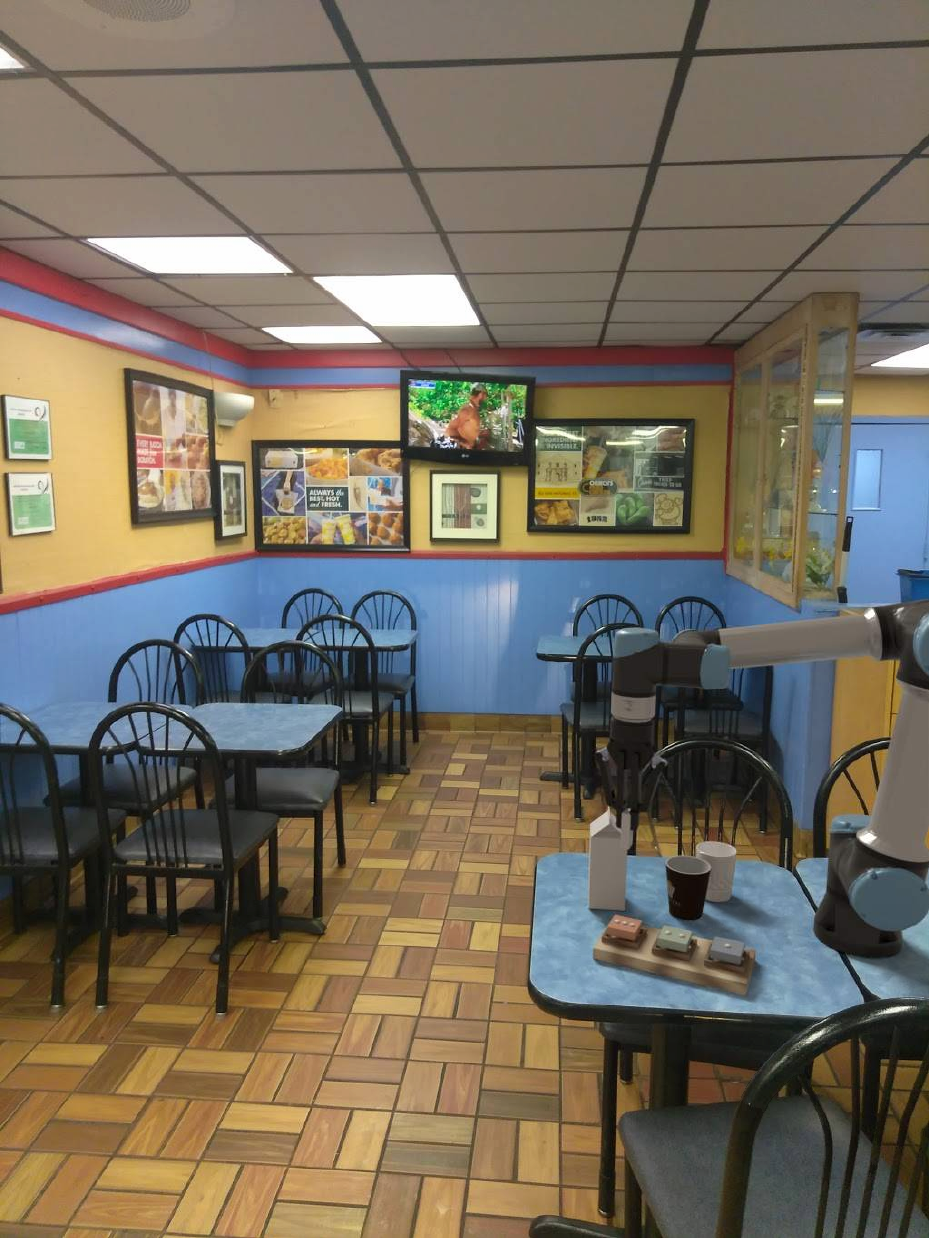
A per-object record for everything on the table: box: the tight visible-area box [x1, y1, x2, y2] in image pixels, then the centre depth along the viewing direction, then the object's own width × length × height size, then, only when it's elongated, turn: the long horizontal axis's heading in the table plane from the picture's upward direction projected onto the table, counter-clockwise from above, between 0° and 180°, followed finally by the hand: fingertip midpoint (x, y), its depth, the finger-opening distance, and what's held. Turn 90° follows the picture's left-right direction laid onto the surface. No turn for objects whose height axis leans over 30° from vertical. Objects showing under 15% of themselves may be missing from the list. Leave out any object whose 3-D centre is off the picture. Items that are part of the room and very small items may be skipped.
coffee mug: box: [664, 855, 711, 922], centre depth 174 cm, size 12×9×10 cm
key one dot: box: [710, 936, 746, 965], centre depth 151 cm, size 5×5×2 cm
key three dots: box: [607, 914, 643, 941], centre depth 159 cm, size 5×5×2 cm
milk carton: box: [587, 806, 628, 912], centre depth 176 cm, size 7×7×19 cm
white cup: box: [695, 840, 738, 903], centre depth 180 cm, size 8×8×10 cm
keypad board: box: [592, 918, 757, 996], centre depth 155 cm, size 26×12×3 cm, turn 65°
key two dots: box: [657, 925, 693, 952], centre depth 155 cm, size 5×5×2 cm
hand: (626, 845), depth 157 cm, fingers closed
